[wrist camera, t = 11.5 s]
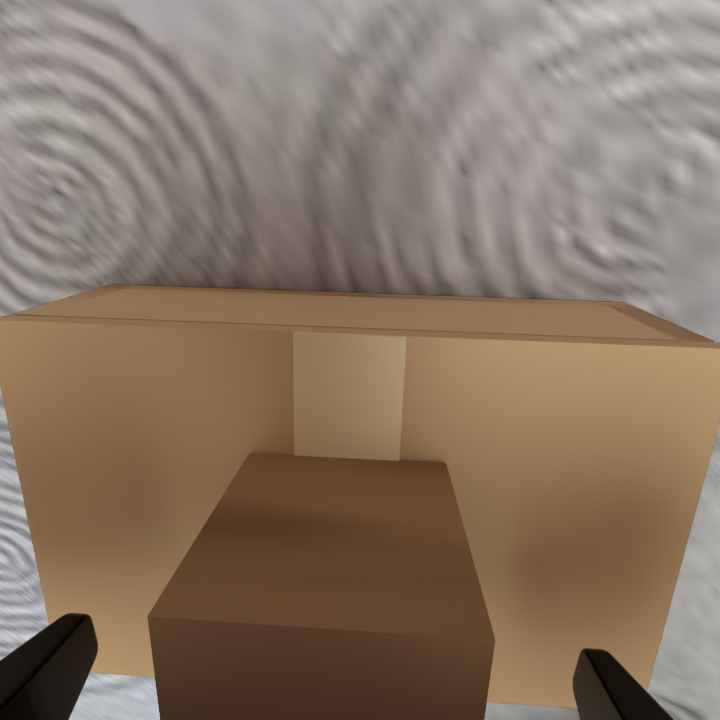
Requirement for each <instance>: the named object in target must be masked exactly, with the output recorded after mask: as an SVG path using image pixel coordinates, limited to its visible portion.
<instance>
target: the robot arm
mask: <svg viewBox="0 0 720 720" xmlns="http://www.w3.org/2000/svg"><path fill="white" fill-rule="evenodd" d="M97 653H98V641H97V637H96V633H95V629H94V625H93V621H92V618H91V616H89V615H88V614H81V613H68V614H65V615H63V616H61V617H60V618H58V619H57V620H56V621H54V622H53V623H52V624H50V625H49V626H47V627H46V628H45V629H43V630H42V631H40V632H39V633H38V634H36V635H35V636H34V637H32V638H31V639H29V640H28V641H27V642H25V643H24V644H22V645H21V646H20V647H18V648H17V649H16V650H14V651H13V652H11V653H10V654H9V655H7V656H6V657H5V658H3V659H2V660H0V720H69V717H70V715H71V713H72V711H73V709H74V706H75V704H76V702H77V700H78V697H79V695H80V693H81V691H82V688H83V686H84V684H85V682H86V679H87V677H88V675H89V673H90V671H91V668H92V666H93V664H94V662H95V659H96V656H97ZM572 685H573V693H574V697H575V701H576V705H577V709H578V713H579V717H580V720H674V719H673V718H672V717H671V716H670V715H669V714H668V713H667V712H666V711H665V710H664V709H663V708H662V707H661V706H660V705H659V704H658V703H657V702H656V700H655V699H654V698H653V697H652V696H651V695H650V694H649V693H648V692H647V691H646V690H645V689H644V688H643V687H642V686H641V685H640V684H639V683H638V682H637V681H636V680H635V679H634V678H633V676H632V675H631V674H630V673H629V672H628V671H627V670H626V669H625V668H624V667H623V666H622V665H621V664H620V663H619V662H618V661H617V660H616V659H615V658H614V657H613V656H612V655H611V654H610V653H609V652H607V651H606V650H603V649H592V648H584V649H582V650H581V652H580V654H579V658H578V661H577V665H576V668H575V672H574V675H573V681H572Z"/></svg>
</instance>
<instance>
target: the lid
mask: <svg viewBox="0 0 720 720" xmlns="http://www.w3.org/2000/svg"><path fill="white" fill-rule="evenodd" d="M0 386H1V391H2V396H3V400H4V405H5V410H6V415H7V420H8V425H9V430H10V435H11V440H12V445H13V449H14V454H15V459H16V464H17V469H18V474H19V479H20V484H21V489H22V494H23V499H24V503H25V508H26V513H27V518H28V523H29V528H30V533H31V538H32V543H33V548H34V552H35V557H36V562H37V567H38V572H39V577H40V582H41V587H42V592H43V597H44V601H45V606H46V611H47V616H48V621H49V625H50V624H52V623H53V622H54V621H56V620H57V619H58V618H60V617H61V616H63V615H65V614H68V613H81V614H88V615H89V616H91V618H92V621H93V625H94V629H95V633H96V637H97V641H98V653H97V656H96V659H95V662H94V664H93V666H92V668H91V671H90V673H103V674H116V675H130V676H143V677H155V673H154V666H153V658H152V650H151V642H150V634H149V627H148V619H147V616H148V614H149V613H150V611H151V610H152V608H153V606H154V605H155V603H156V602H157V600H158V598H159V597H160V595H161V594H162V592H163V590H164V589H165V587H166V586H167V584H168V582H169V581H170V579H171V578H172V576H173V574H174V573H175V571H176V570H177V568H178V566H179V565H180V563H181V562H182V560H183V558H184V557H185V555H186V554H187V552H188V550H189V549H190V547H191V546H192V544H193V542H194V541H195V539H196V538H197V536H198V534H199V533H200V531H201V530H202V528H203V526H204V525H205V523H206V522H207V520H208V518H209V517H210V515H211V514H212V512H213V510H214V509H215V507H216V506H217V504H218V502H219V501H220V499H221V498H222V496H223V494H224V493H225V491H226V490H227V488H228V486H229V485H230V483H231V482H232V480H233V478H234V477H235V475H236V474H237V472H238V470H239V469H240V467H241V466H242V464H243V462H244V461H245V459H246V458H247V456H248V454H249V453H255V454H275V455H294V456H313V457H332V458H352V459H371V460H391V461H411V462H430V463H446V465H447V468H448V472H449V475H450V479H451V483H452V486H453V490H454V493H455V497H456V500H457V504H458V508H459V511H460V515H461V518H462V522H463V525H464V529H465V533H466V536H467V540H468V543H469V547H470V551H471V554H472V558H473V561H474V565H475V568H476V572H477V576H478V579H479V583H480V586H481V590H482V594H483V597H484V601H485V604H486V608H487V611H488V615H489V619H490V622H491V626H492V629H493V633H494V636H495V647H494V654H493V661H492V668H491V675H490V682H489V689H488V696H487V702H495V703H509V704H522V705H536V706H549V707H563V708H576V709H577V705H576V701H575V697H574V693H573V685H572V681H573V675H574V672H575V668H576V665H577V661H578V658H579V654H580V652H581V650H582V649H584V648H592V649H603V650H606V651H607V652H609V653H610V654H611V655H612V656H613V657H614V658H615V659H616V660H617V661H618V662H619V663H620V664H621V665H622V666H623V667H624V668H625V669H626V670H627V671H628V672H629V673H630V674H631V675H632V676H633V678H634V679H635V680H636V681H637V682H638V683H639V684H640V685H641V686H642V687H643V688H644V689H645V690H646V691H647V688H648V685H649V681H650V677H651V674H652V670H653V666H654V663H655V659H656V655H657V652H658V648H659V644H660V641H661V637H662V633H663V630H664V626H665V622H666V619H667V615H668V611H669V608H670V604H671V600H672V596H673V593H674V589H675V585H676V582H677V578H678V574H679V571H680V567H681V563H682V560H683V556H684V552H685V549H686V545H687V541H688V538H689V534H690V530H691V527H692V523H693V519H694V516H695V512H696V508H697V505H698V501H699V497H700V494H701V490H702V486H703V483H704V479H705V475H706V471H707V468H708V464H709V460H710V457H711V453H712V449H713V446H714V442H715V438H716V435H717V431H718V427H719V424H720V343H714V342H688V341H663V340H637V339H611V338H585V337H560V336H534V335H508V334H482V333H457V332H431V331H405V330H380V329H354V328H328V327H302V326H277V325H251V324H225V323H199V322H174V321H148V320H122V319H97V318H71V317H45V316H19V315H8V316H3V317H0Z"/></svg>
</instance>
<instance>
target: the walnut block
mask: <svg viewBox="0 0 720 720" xmlns="http://www.w3.org/2000/svg"><path fill="white" fill-rule="evenodd" d="M147 619H148V627H149V634H150V642H151V650H152V658H153V666H154V673H155V681H156V689H157V697H158V705H159V713H160V720H484V717H485V710H486V703H487V696H488V689H489V682H490V675H491V668H492V661H493V654H494V647H495V636H494V633H493V629H492V626H491V622H490V619H489V615H488V611H487V608H486V604H485V601H484V597H483V594H482V590H481V586H480V583H479V579H478V576H477V572H476V568H475V565H474V561H473V558H472V554H471V551H470V547H469V543H468V540H467V536H466V533H465V529H464V525H463V522H462V518H461V515H460V511H459V508H458V504H457V500H456V497H455V493H454V490H453V486H452V483H451V479H450V475H449V472H448V468H447V465H446V463H430V462H411V461H391V460H371V459H352V458H332V457H313V456H294V455H275V454H255V453H249V454H248V456H247V458H246V459H245V461H244V462H243V464H242V466H241V467H240V469H239V470H238V472H237V474H236V475H235V477H234V478H233V480H232V482H231V483H230V485H229V486H228V488H227V490H226V491H225V493H224V494H223V496H222V498H221V499H220V501H219V502H218V504H217V506H216V507H215V509H214V510H213V512H212V514H211V515H210V517H209V518H208V520H207V522H206V523H205V525H204V526H203V528H202V530H201V531H200V533H199V534H198V536H197V538H196V539H195V541H194V542H193V544H192V546H191V547H190V549H189V550H188V552H187V554H186V555H185V557H184V558H183V560H182V562H181V563H180V565H179V566H178V568H177V570H176V571H175V573H174V574H173V576H172V578H171V579H170V581H169V582H168V584H167V586H166V587H165V589H164V590H163V592H162V594H161V595H160V597H159V598H158V600H157V602H156V603H155V605H154V606H153V608H152V610H151V611H150V613H149V614H148V616H147Z"/></svg>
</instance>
